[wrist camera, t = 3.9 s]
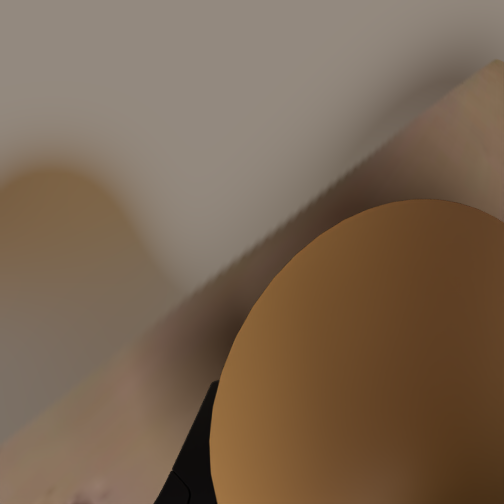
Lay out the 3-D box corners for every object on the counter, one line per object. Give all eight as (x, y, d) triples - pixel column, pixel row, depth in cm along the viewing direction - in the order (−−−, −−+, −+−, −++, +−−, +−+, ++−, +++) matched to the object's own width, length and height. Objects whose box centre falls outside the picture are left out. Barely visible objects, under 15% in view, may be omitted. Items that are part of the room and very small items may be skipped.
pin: (373, 363, 14) (588, 280, 3) (334, 455, 13) (494, 586, 1) (282, 328, 16) (324, 142, 4) (240, 420, 14) (133, 541, 2)
